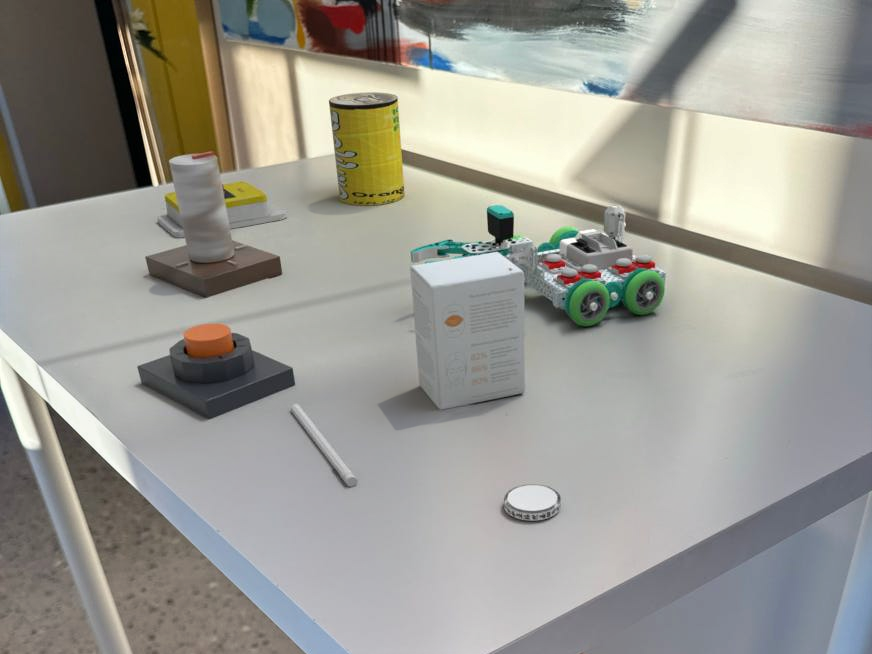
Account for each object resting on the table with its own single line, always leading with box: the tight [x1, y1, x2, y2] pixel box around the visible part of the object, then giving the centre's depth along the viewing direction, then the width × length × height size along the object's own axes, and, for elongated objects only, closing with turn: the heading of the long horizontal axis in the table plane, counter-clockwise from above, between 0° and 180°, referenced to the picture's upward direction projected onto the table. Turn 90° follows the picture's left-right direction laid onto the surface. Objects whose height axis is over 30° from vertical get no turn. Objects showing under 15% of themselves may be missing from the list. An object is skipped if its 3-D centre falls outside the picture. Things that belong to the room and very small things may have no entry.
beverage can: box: [328, 91, 405, 206], centre depth 130 cm, size 9×9×12 cm
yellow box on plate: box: [156, 180, 287, 239], centre depth 126 cm, size 9×4×15 cm
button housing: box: [136, 332, 296, 420], centre depth 85 cm, size 11×9×4 cm
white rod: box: [290, 403, 358, 488], centre depth 77 cm, size 1×1×15 cm
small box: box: [409, 252, 526, 411], centre depth 81 cm, size 8×6×10 cm
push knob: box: [183, 322, 234, 358], centre depth 84 cm, size 4×4×2 cm
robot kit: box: [410, 204, 667, 327], centre depth 98 cm, size 19×25×9 cm
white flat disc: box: [503, 483, 562, 521], centre depth 68 cm, size 4×4×1 cm
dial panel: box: [144, 239, 283, 299], centre depth 109 cm, size 12×10×2 cm
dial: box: [168, 151, 234, 263], centre depth 106 cm, size 5×5×10 cm
